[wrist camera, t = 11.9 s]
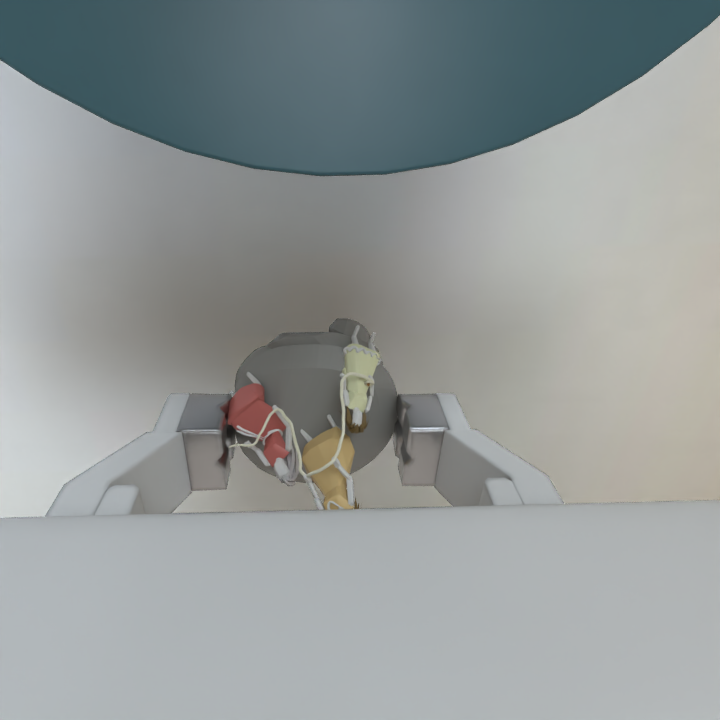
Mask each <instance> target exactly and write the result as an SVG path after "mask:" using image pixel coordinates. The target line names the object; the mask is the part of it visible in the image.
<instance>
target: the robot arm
mask: <svg viewBox="0 0 720 720" xmlns="http://www.w3.org/2000/svg"><path fill="white" fill-rule="evenodd" d="M231 399H232V396H231V394H194V393H192V394H190V393H172V394H170V395H169V396H168V397H167V400H166V402H165V404H164V406H163V409H162V411H161V413H160V416H159V418H158V420H157V422H156V425H155V427H154V429H153V431H152V432H146V433H145V434H143V435H141V436H140V437H138V438H137V439H135V440H134V441H132V442H130V443H129V444H127V445H126V446H124V447H122V448H121V449H119V450H118V451H116V452H115V453H113V454H111V455H110V456H108V457H107V458H105V459H104V460H102V461H100V462H99V463H97V464H96V465H94V466H92V467H91V468H89V469H88V470H86V471H85V472H83V473H81V474H80V475H78V476H77V477H75V478H74V479H72V480H70V481H69V482H67V483H66V484H64V485H63V487H62V489H61V490H60V492H59V494H58V496H57V497H56V499H55V501H54V502H53V504H52V506H51V507H50V509H49V511H48V512H47V514H46V516H45V517H12V518H0V720H720V500H695V501H655V502H615V503H573V504H564V502H563V501H562V499H561V497H560V495H559V494H558V492H557V490H556V489H555V487H554V485H553V483H552V482H551V480H550V478H549V476H548V475H546V474H545V473H543V472H541V471H540V470H538V469H537V468H535V467H534V466H532V465H531V464H529V463H528V462H526V461H524V460H523V459H521V458H520V457H518V456H517V455H515V454H514V453H512V452H510V451H509V450H507V449H506V448H504V447H503V446H501V445H500V444H498V443H497V442H495V441H493V440H492V439H490V438H489V437H487V436H486V435H484V434H483V433H481V432H480V431H478V430H476V429H471V428H470V426H469V423H468V421H467V419H466V417H465V415H464V412H463V410H462V408H461V406H460V404H459V401H458V399H457V397H456V395H455V394H454V393H435V394H398V396H397V404H396V411H397V415H398V418H397V421H396V423H395V426H394V432H393V444H394V451H395V456H397V457H398V458H399V463H398V470H399V474H400V478H401V483H402V486H434V487H435V488H436V489H437V490H438V492H439V493H440V494H441V495H442V496H443V497H444V498H445V499H446V500H447V501H448V502H449V503H450V504H451V505H452V507H412V508H373V509H333V510H292V511H252V512H212V513H172V512H173V511H174V510H175V509H176V508H177V507H178V506H179V505H180V504H181V503H182V502H183V501H184V500H185V499H186V498H187V497H188V496H189V495H190V494H191V491H199V490H221V489H227V485H228V481H229V476H230V471H231V468H230V460H231V459H232V458H233V456H234V450H235V447H231V448H229V446H231V445H235V428H233V426H232V425H229V424H228V413H229V404H230V400H231ZM171 513H172V514H171Z"/></svg>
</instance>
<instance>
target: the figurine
mask: <svg viewBox="0 0 720 720" xmlns="http://www.w3.org/2000/svg"><path fill="white" fill-rule="evenodd" d="M375 335H376V333H375V332H374V333H372V335H371V337H370V335H369V333H368V331H367V330H366V328H365V327H364V326H363V325H362V324H360V323H359V322H357V321H354V320H351V319H348V318H343V319H336V320H335V321H334V322H333V323H332V324H331V325H330V327H329V332H305V333H282V334H280V335H278V336H277V337H276V338H275V339H274V340H273V341H271V342H270V343H269V344H268V345H266V346H263V347H260V348H258V349H256V350H254V351H253V352H252V353H251V354H250V355H249V356H248V357H247V358H246V360H245V361H244V362H243V363H242V365H241V366H240V367H239V369H238V371H237V374H236V380H235V392H233V391H230V394H231V396H232V399H231V400H230V404H229V413H228V424H229V425H232V426H233V428H235V435H236V438H237V441H238V443H239V444H235V445H231V446H229V448H231V447H235V446H240V447H241V449H242V451H243V452H244V454H245V455H246V456H247V457H248V458H249V459H250V460H251V461H252V462H253V463H254V464H255V465H256V466H257V467H258V468H260V469H261V470H263V471H265V472H267V473H269V474H271V475H273V476H276V477H277V478H278V479H279V480H280V481H281V482H282V483H285V484H286V485H287V486H290V485H291V486H293V485H294V484H295V481H296V482H304V483H307V484H308V486H309V488H310V490H311V492H312V494H313V496H314V498H315V500H314V501H315V504H316V506H317V508H318V510H333V509H353V508H354V509H359V504H358V507H357V502H356V498H355V500H354V486H353V479H352V477H351V476H350V475H349V474H351V473H354V472H356V471H357V470H359V469H361V468H362V467H364V466H365V465H367V464H368V463H369V462H371V461H372V460H373V459H374V458H376V456H377V455H378V454H379V453H380V452H381V451H382V450H383V449H384V447H385V446H386V445H387V443H388V442H389V440H390V438H391V436H392V434H393V432H394V426H395V423H396V421H397V418H398V415H397V411H396V404H397V393H396V388H395V385H394V382H393V380H392V378H391V376H390V374H389V373H388V371H387V370H386V369H385V368H384V367H383V363H382V359H381V356H380V354H379V351H378V349H377V348H376V347H375V346H374V344H373V341H374V338H375ZM290 482H291V483H290ZM313 483H315V484H316V485H317V487H318V488H319V489H320V491H321V492H322V493H323V495H324V496H325V499H324V503H322V501H321V500H320V498H319V496H318V494H317V491H316V489H315V487H314V485H313ZM346 488H347V489H346ZM354 503H355V507H353V505H354ZM361 506H362V505H361Z"/></svg>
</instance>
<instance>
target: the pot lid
mask: <svg viewBox="0 0 720 720" xmlns="http://www.w3.org/2000/svg"><path fill="white" fill-rule="evenodd" d="M719 15H720V0H0V60H1V61H3V62H5V63H6V64H8V65H9V66H11V67H12V68H14V69H15V70H17V71H18V72H20V73H21V74H23V75H24V76H26V77H27V78H29V79H30V80H32V81H33V82H35V83H36V84H38V85H40V86H41V87H43V88H45V89H47V90H49V91H51V92H53V93H55V94H57V95H59V96H61V97H63V98H64V99H66V100H68V101H70V102H72V103H74V104H76V105H78V106H80V107H82V108H84V109H85V110H87V111H89V112H91V113H93V114H95V115H97V116H99V117H101V118H103V119H105V120H107V121H108V122H110V123H112V124H114V125H117V126H120V127H122V128H125V129H127V130H130V131H133V132H135V133H138V134H140V135H143V136H146V137H148V138H151V139H153V140H156V141H159V142H161V143H164V144H166V145H169V146H172V147H174V148H177V149H179V150H182V151H185V152H188V153H192V154H196V155H200V156H204V157H208V158H212V159H216V160H220V161H225V162H229V163H233V164H237V165H241V166H245V167H249V168H253V169H260V170H269V171H278V172H287V173H296V174H305V175H314V176H350V175H386V174H392V173H398V172H404V171H410V170H416V169H422V168H429V167H435V166H441V165H447V164H451V163H455V162H458V161H461V160H464V159H468V158H471V157H474V156H477V155H481V154H484V153H487V152H490V151H494V150H497V149H500V148H503V147H507V146H510V145H513V144H515V143H518V142H520V141H522V140H524V139H526V138H529V137H531V136H533V135H535V134H538V133H540V132H542V131H544V130H546V129H549V128H551V127H553V126H555V125H557V124H560V123H562V122H564V121H566V120H568V119H571V118H573V117H575V116H577V115H579V114H581V113H582V112H584V111H585V110H587V109H589V108H590V107H592V106H594V105H595V104H597V103H599V102H600V101H602V100H604V99H605V98H607V97H609V96H610V95H612V94H614V93H615V92H617V91H619V90H620V89H622V88H623V87H625V86H627V85H628V84H630V83H632V82H633V81H635V80H637V79H638V78H640V77H642V76H643V75H644V74H646V73H647V72H648V71H650V70H651V69H652V68H653V67H655V66H656V65H657V64H659V63H660V62H661V61H663V60H664V59H665V58H667V57H668V56H669V55H671V54H672V53H673V52H674V51H676V50H677V49H678V48H680V47H681V46H682V45H684V44H685V43H686V42H688V41H689V40H690V39H691V38H693V37H694V36H695V35H697V34H698V33H699V32H701V31H702V30H703V29H705V28H706V27H707V26H708V25H710V24H711V23H712V22H713V21H714V20H715V19H716V18H717V17H718V16H719Z"/></svg>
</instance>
